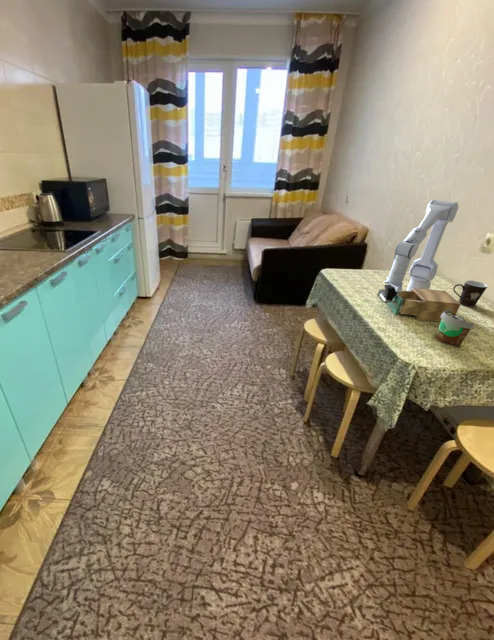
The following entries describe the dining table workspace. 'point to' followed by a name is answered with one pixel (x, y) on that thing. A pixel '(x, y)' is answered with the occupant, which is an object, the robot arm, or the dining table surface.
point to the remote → (381, 292)
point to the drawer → (404, 303)
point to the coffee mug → (471, 292)
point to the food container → (453, 328)
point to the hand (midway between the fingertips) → (387, 301)
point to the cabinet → (435, 304)
